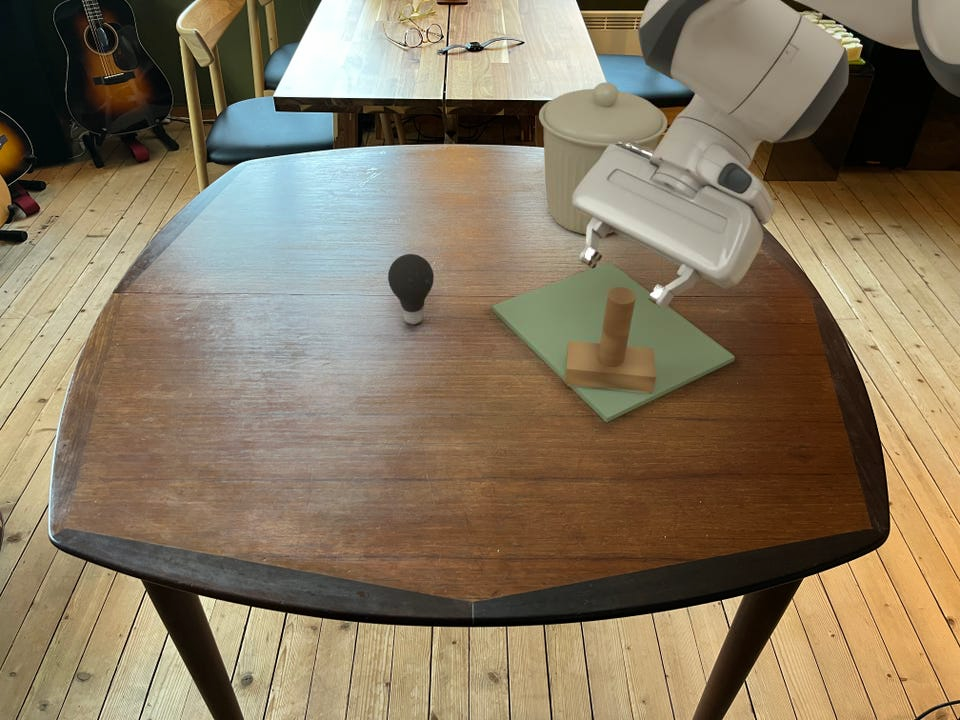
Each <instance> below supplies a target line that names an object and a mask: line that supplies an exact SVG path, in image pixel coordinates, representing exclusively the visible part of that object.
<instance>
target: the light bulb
mask: <svg viewBox="0 0 960 720" xmlns="http://www.w3.org/2000/svg"><path fill="white" fill-rule="evenodd" d="M434 278H435V274H434V271H433V268H432V266H431V264H430V262H428V261H427V259H426V258H424V257H423V256H421V255H419V254H414V253H406V254H404V255H400V256H398V257H397V258H396V259H395V260H394V261H393V262H392V263H391V265H390V267H389V270H388V273H387V281H388V285H389V288H390V289H391V291H392V293H393V294H394V295H395V297H396V298H397V299H398V300H399V302H400V305H401V308H402V314H403V319H404V321H405V322H406V323H408V324H411V325H416V324H418V323H420V322H422V320H423V317H424V306H425V302H426V301H425V300H426V298H427V297H428V295H429V293H430V292H431V290H432V288H433V285H434V281H435V280H434Z"/></svg>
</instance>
